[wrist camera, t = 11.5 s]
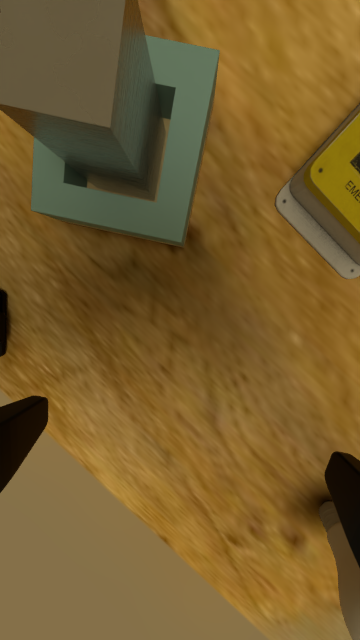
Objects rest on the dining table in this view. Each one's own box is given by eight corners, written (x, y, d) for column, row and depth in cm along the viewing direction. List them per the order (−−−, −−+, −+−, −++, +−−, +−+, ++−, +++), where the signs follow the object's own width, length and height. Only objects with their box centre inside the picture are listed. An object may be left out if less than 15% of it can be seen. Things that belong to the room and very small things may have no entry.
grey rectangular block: (97, 188, 17) (-10, 101, 8) (104, 119, 16) (-9, -67, 7) (154, 200, 17) (110, 127, 8) (166, 133, 16) (129, -38, 7)
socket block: (65, 222, 18) (31, 210, 14) (77, 75, 16) (39, 13, 12) (184, 247, 18) (181, 242, 14) (213, 103, 16) (219, 50, 12)
